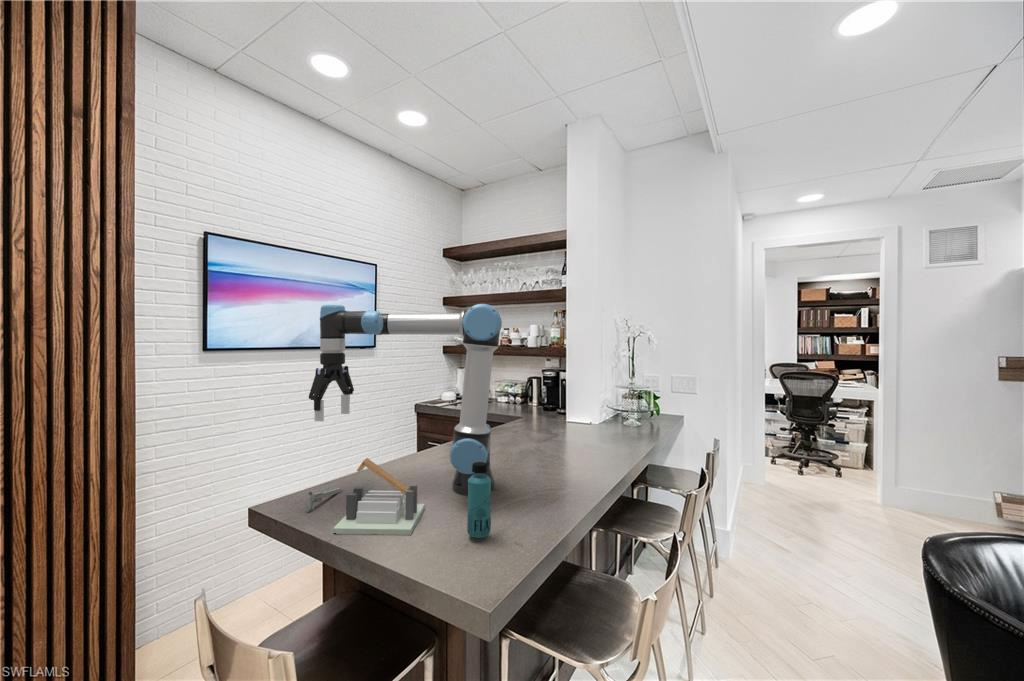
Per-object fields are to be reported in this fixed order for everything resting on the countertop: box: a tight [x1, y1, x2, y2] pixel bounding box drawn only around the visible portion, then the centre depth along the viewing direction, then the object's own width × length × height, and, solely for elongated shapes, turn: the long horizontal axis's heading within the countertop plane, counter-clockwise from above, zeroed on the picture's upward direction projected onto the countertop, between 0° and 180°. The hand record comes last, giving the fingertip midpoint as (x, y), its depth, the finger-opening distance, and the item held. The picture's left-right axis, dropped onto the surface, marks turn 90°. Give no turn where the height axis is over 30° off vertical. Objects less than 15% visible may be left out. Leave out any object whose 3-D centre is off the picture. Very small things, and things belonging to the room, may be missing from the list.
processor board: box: [332, 484, 426, 536], centre depth 124 cm, size 21×18×10 cm
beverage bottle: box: [466, 462, 492, 538], centre depth 113 cm, size 6×7×20 cm
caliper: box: [305, 487, 344, 513], centre depth 138 cm, size 20×1×6 cm, turn 173°
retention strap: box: [356, 457, 415, 496], centre depth 124 cm, size 18×3×4 cm
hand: (332, 417), depth 139 cm, fingers open, 13 cm apart
